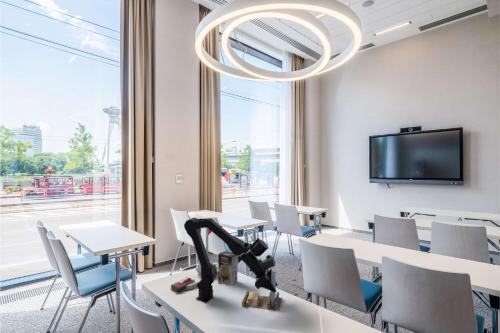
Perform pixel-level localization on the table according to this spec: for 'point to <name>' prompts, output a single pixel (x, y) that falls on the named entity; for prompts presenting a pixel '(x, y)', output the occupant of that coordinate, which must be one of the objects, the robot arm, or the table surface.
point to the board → (273, 281)
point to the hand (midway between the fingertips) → (276, 288)
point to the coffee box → (227, 268)
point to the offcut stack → (252, 299)
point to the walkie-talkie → (184, 285)
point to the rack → (264, 302)
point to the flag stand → (198, 267)
